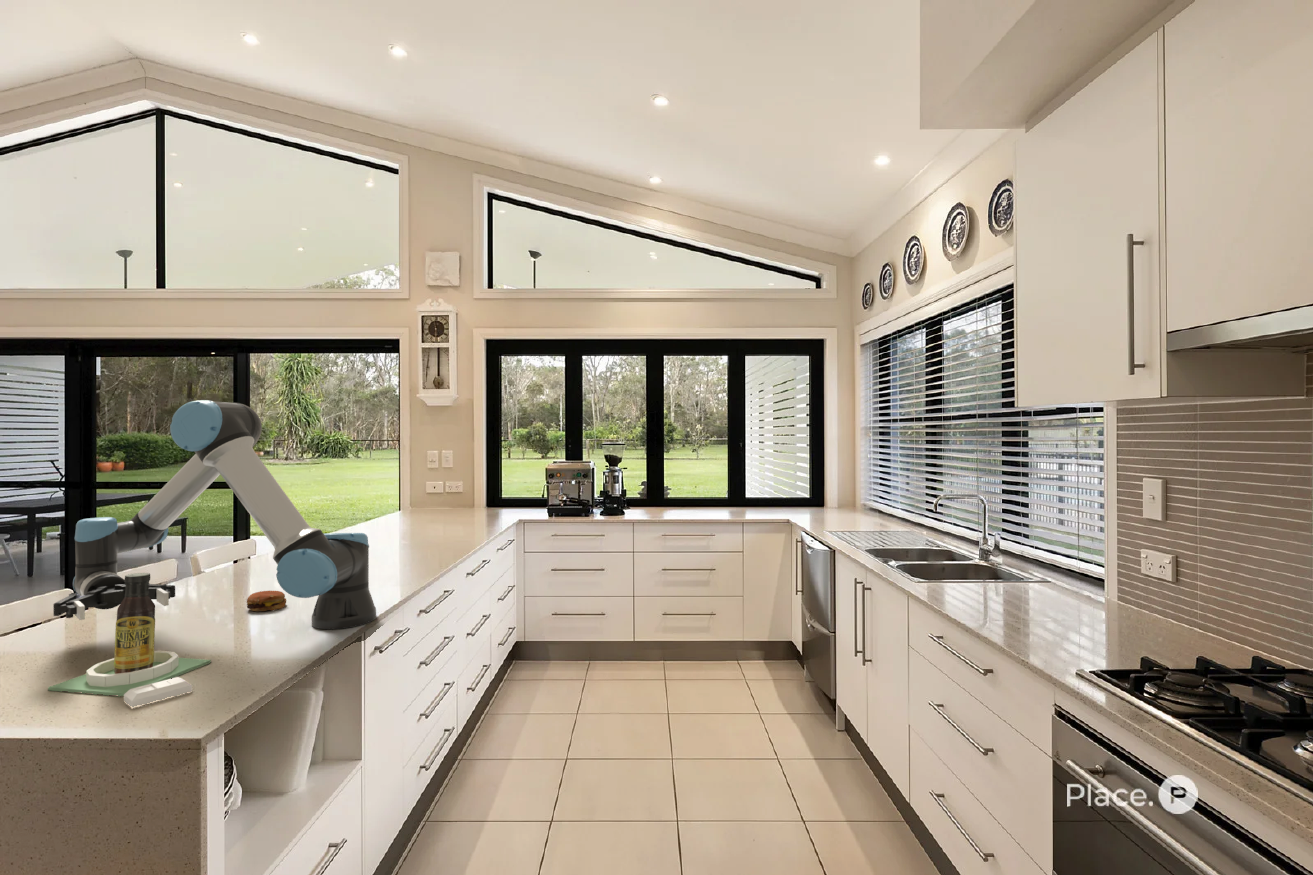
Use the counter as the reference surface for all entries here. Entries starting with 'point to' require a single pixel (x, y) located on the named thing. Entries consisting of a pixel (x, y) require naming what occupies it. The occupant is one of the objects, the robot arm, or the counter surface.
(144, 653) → the sauce bottle
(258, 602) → the burger
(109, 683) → the putting mat
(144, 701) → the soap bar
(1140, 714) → the counter surface
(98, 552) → the robot arm
